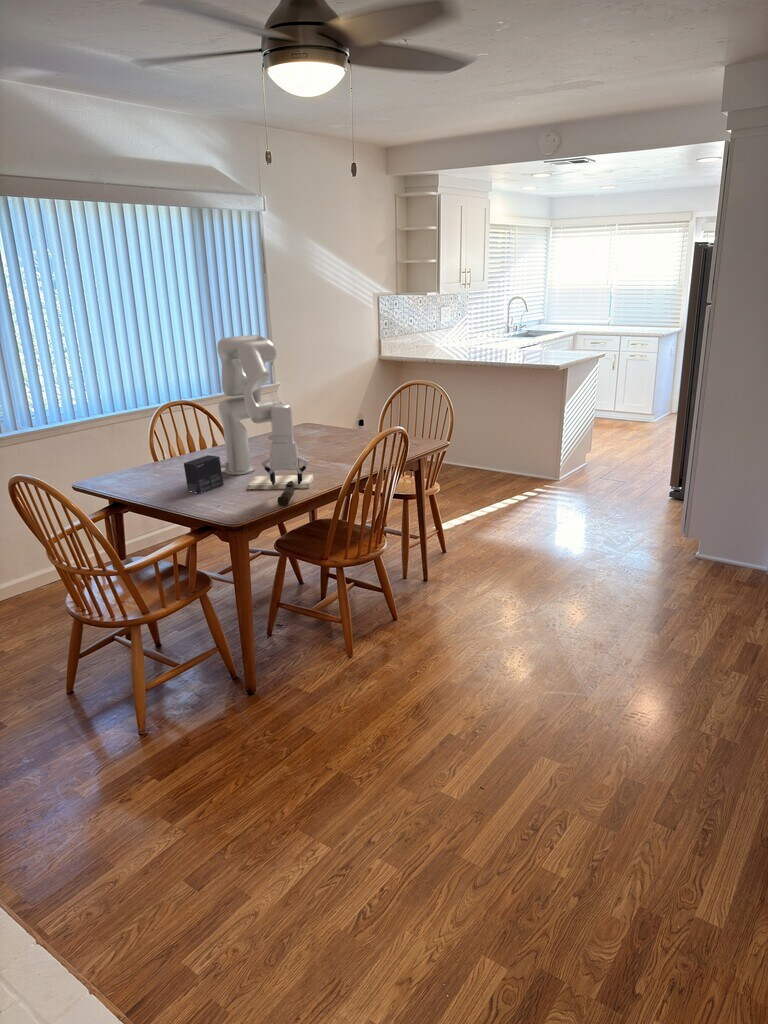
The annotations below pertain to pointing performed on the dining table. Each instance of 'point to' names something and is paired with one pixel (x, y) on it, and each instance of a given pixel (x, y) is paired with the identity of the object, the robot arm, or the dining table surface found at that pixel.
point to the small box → (203, 473)
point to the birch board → (279, 482)
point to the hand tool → (286, 494)
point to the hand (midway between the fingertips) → (286, 483)
